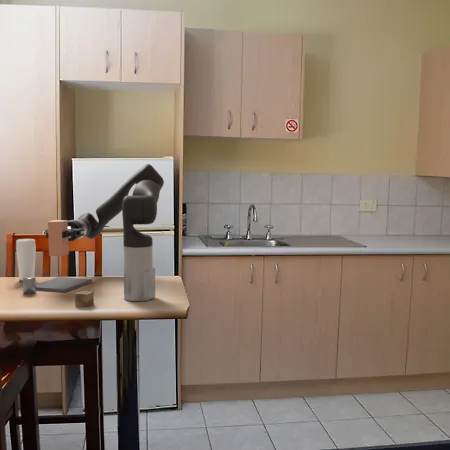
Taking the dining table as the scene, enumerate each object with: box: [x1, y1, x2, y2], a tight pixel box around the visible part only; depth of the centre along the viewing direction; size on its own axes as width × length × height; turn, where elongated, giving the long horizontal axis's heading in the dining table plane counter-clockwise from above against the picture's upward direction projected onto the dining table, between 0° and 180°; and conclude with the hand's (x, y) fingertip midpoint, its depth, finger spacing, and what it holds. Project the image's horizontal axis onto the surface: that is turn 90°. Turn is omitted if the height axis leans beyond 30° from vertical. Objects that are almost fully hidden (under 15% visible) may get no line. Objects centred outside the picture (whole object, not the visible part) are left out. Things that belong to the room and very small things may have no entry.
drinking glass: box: [15, 238, 37, 282], centre depth 204 cm, size 7×7×15 cm
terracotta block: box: [47, 219, 70, 257], centre depth 191 cm, size 5×5×12 cm
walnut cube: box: [74, 290, 95, 308], centre depth 168 cm, size 4×4×4 cm
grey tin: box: [22, 276, 37, 295], centre depth 183 cm, size 4×4×5 cm
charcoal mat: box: [36, 276, 93, 293], centre depth 195 cm, size 14×18×1 cm
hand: (55, 235), depth 188 cm, fingers closed on terracotta block, 5 cm apart
